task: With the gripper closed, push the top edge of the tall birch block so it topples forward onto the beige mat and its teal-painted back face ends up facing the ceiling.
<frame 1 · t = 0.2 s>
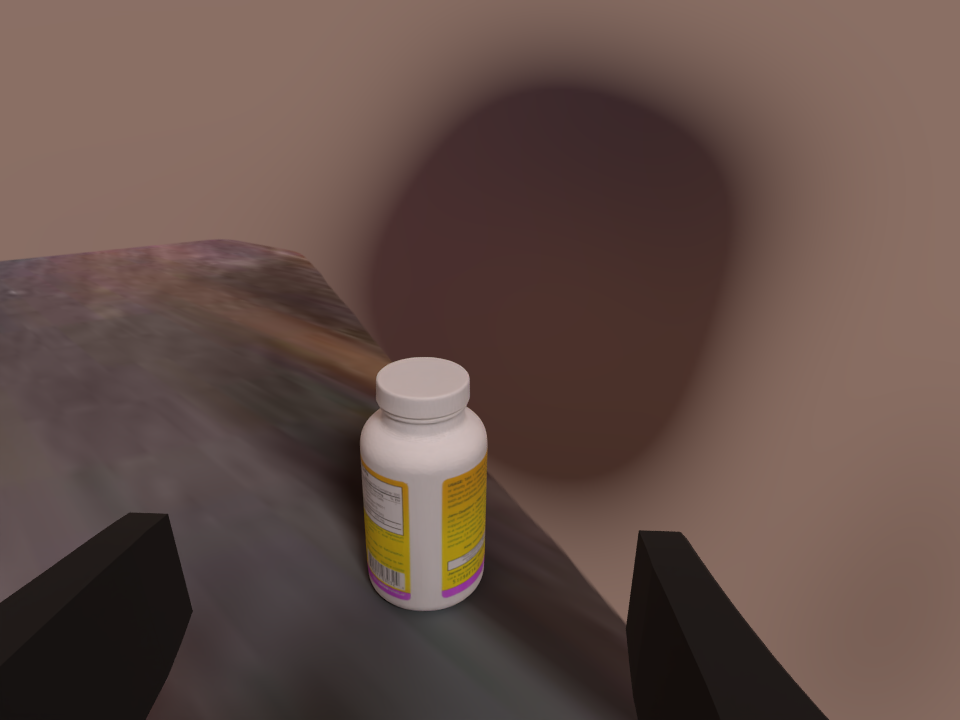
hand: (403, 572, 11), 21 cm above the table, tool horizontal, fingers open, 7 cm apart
supplement bottle: (425, 576, 41), on the table
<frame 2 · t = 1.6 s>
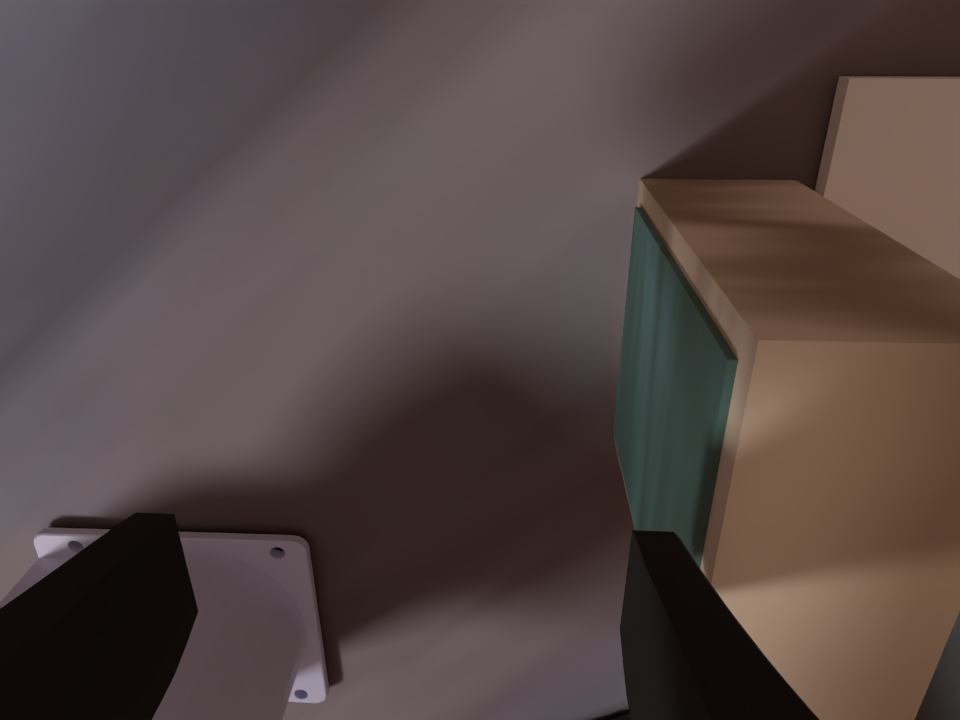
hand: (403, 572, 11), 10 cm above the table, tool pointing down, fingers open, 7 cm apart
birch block: (696, 321, 20), on the table
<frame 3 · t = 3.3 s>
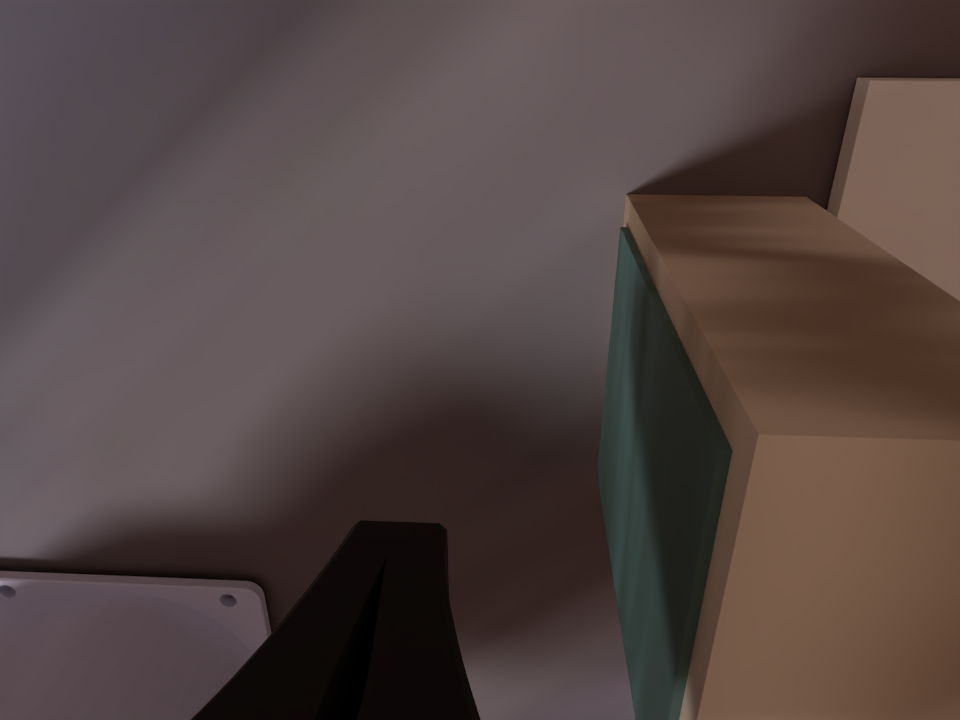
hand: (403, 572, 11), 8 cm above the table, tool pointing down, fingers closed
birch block: (691, 353, 18), on the table
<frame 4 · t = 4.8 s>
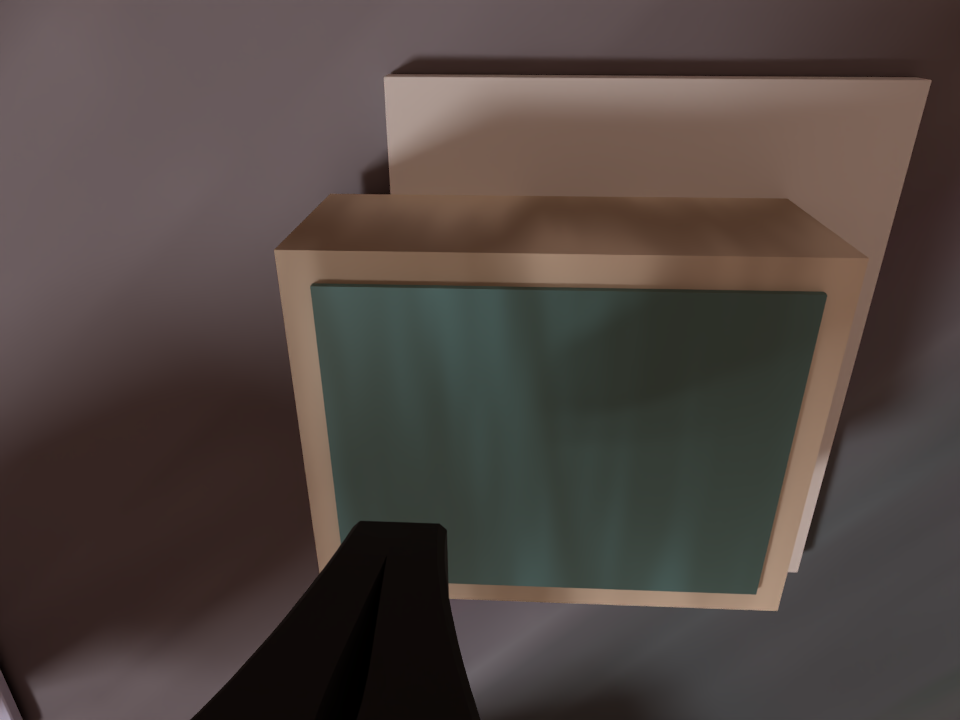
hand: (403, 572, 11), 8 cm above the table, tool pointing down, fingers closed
beige mat: (619, 352, 18), on the table
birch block: (326, 394, 16), point 3 cm above the table, tilted 90°, touching beige mat
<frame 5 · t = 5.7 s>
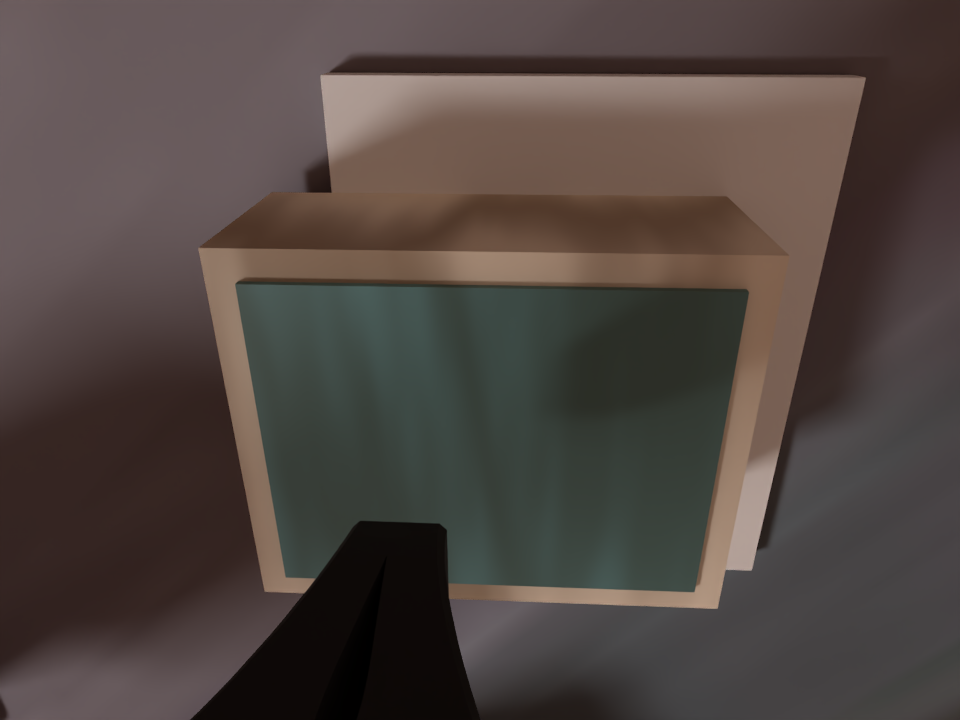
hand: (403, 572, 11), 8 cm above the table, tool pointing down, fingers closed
beige mat: (568, 350, 18), on the table
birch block: (268, 392, 16), point 3 cm above the table, tilted 90°, touching beige mat
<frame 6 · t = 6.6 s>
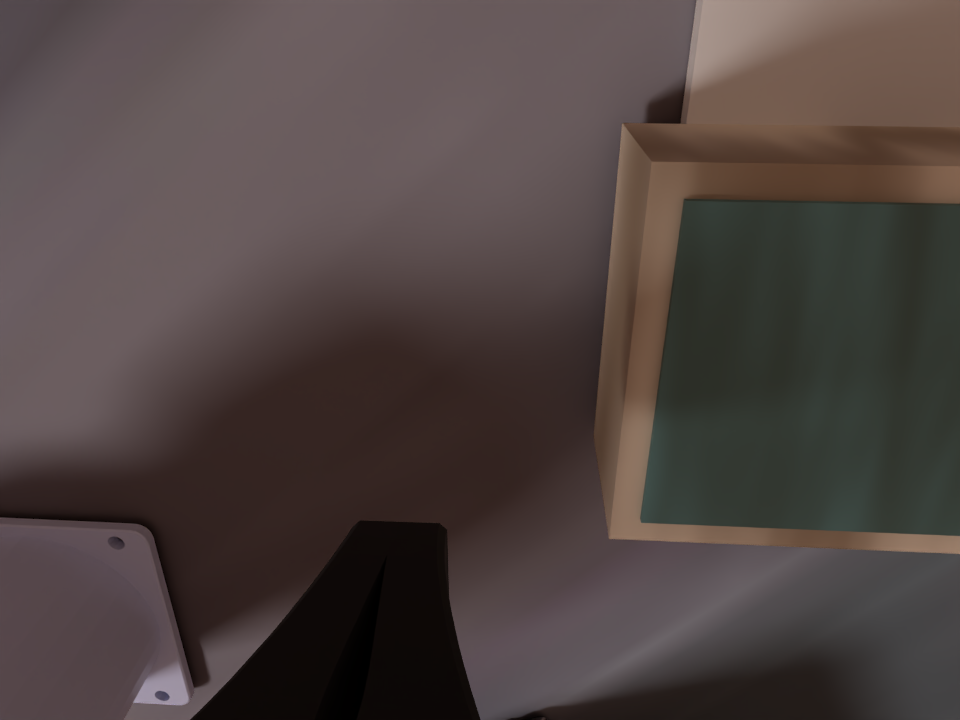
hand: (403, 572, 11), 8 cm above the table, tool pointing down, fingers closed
beige mat: (886, 297, 17), on the table
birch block: (615, 331, 15), point 3 cm above the table, tilted 90°, touching beige mat
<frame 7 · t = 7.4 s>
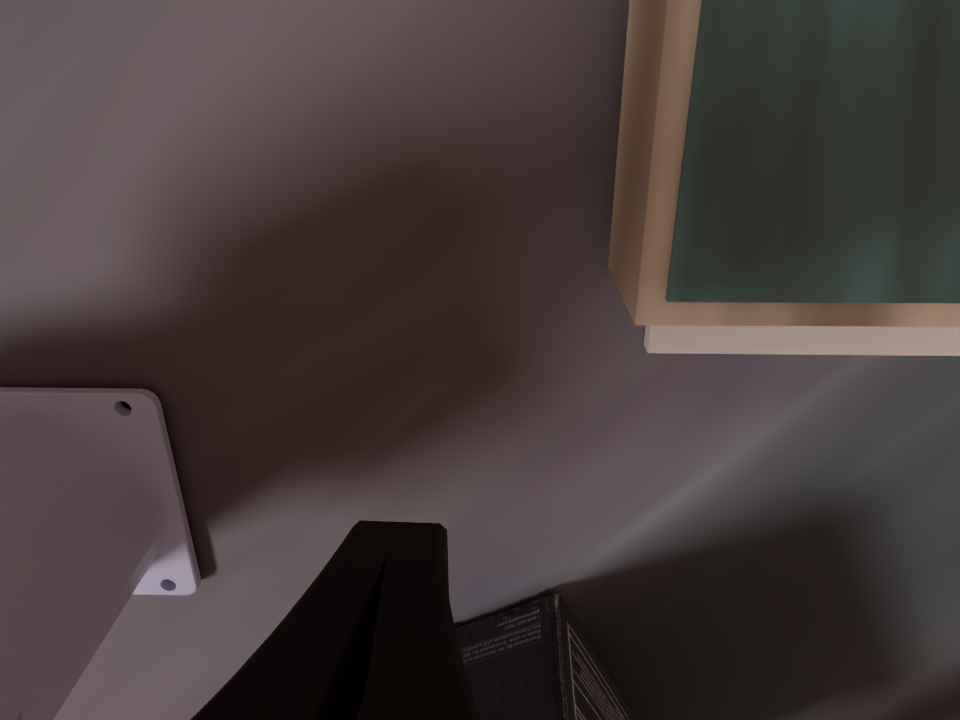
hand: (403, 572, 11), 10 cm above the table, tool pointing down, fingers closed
beige mat: (891, 109, 18), on the table
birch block: (635, 119, 15), point 3 cm above the table, tilted 90°, touching beige mat
small box: (537, 699, 28), on the table
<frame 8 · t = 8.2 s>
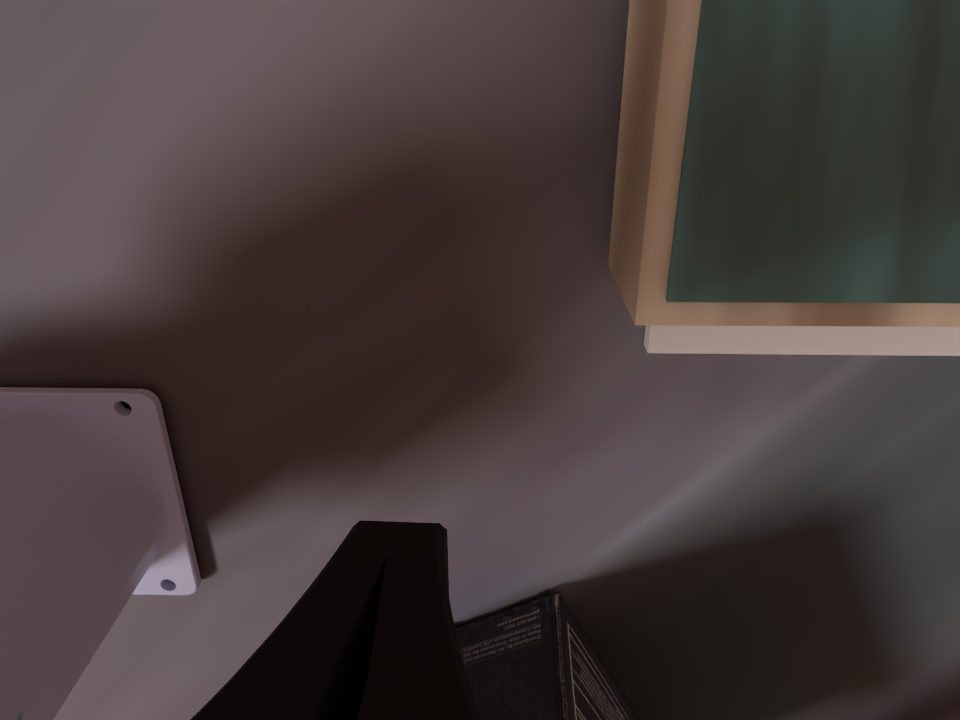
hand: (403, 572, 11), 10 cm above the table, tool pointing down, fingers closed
beige mat: (891, 109, 18), on the table
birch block: (635, 119, 15), point 3 cm above the table, tilted 90°, touching beige mat
small box: (537, 699, 28), on the table
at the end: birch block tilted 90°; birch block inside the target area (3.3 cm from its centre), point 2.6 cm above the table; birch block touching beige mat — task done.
